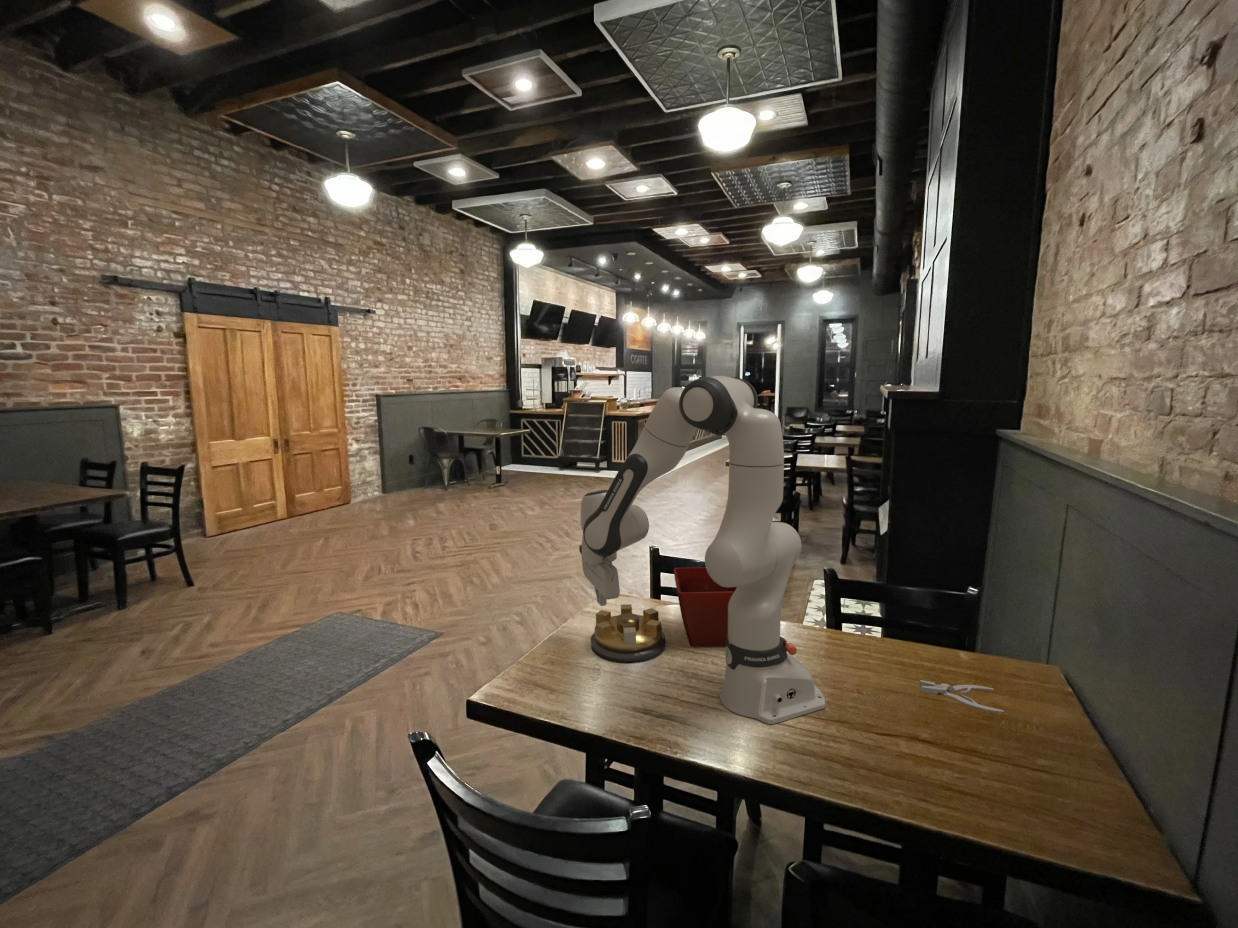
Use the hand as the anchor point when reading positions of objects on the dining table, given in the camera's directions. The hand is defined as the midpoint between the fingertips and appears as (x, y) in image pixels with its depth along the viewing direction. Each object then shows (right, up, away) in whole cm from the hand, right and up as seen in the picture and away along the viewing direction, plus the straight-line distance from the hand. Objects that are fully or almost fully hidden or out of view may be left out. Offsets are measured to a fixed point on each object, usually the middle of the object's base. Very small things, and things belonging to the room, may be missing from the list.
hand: (601, 603), depth 147 cm
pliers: (+80, -15, -22) cm, 84 cm away
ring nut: (+7, -10, +4) cm, 13 cm away
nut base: (+7, -12, +5) cm, 15 cm away
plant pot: (+30, -11, +8) cm, 33 cm away
